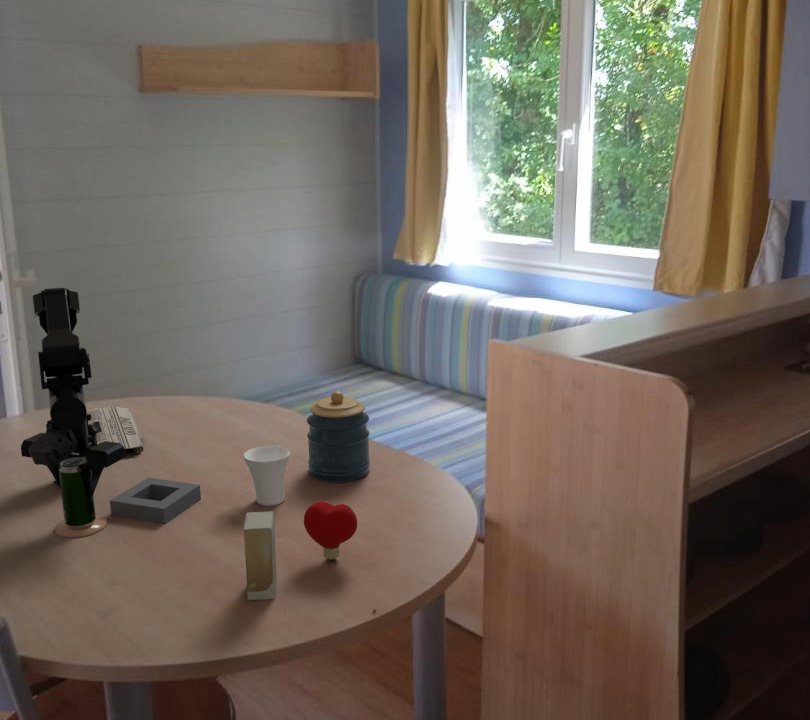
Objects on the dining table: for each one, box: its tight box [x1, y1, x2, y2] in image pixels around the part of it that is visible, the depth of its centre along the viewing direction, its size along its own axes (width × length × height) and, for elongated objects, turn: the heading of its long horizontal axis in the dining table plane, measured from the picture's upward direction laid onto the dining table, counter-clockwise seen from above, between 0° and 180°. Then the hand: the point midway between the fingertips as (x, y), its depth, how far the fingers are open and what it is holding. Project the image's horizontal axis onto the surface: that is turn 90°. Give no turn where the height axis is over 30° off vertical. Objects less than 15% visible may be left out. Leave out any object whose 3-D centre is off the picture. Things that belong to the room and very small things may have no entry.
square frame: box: [109, 477, 202, 525], centre depth 171 cm, size 12×12×3 cm
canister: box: [306, 390, 371, 483], centre depth 186 cm, size 13×13×18 cm
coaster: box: [54, 514, 108, 539], centre depth 163 cm, size 9×9×1 cm
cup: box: [242, 444, 291, 507], centre depth 173 cm, size 9×9×10 cm
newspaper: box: [86, 406, 147, 454], centre depth 213 cm, size 35×12×4 cm, turn 26°
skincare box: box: [243, 510, 278, 601], centre depth 138 cm, size 6×4×12 cm
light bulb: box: [303, 500, 358, 561], centre depth 149 cm, size 9×7×10 cm
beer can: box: [59, 457, 96, 529], centre depth 162 cm, size 5×5×12 cm
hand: (77, 493), depth 162 cm, fingers closed on beer can, 5 cm apart
